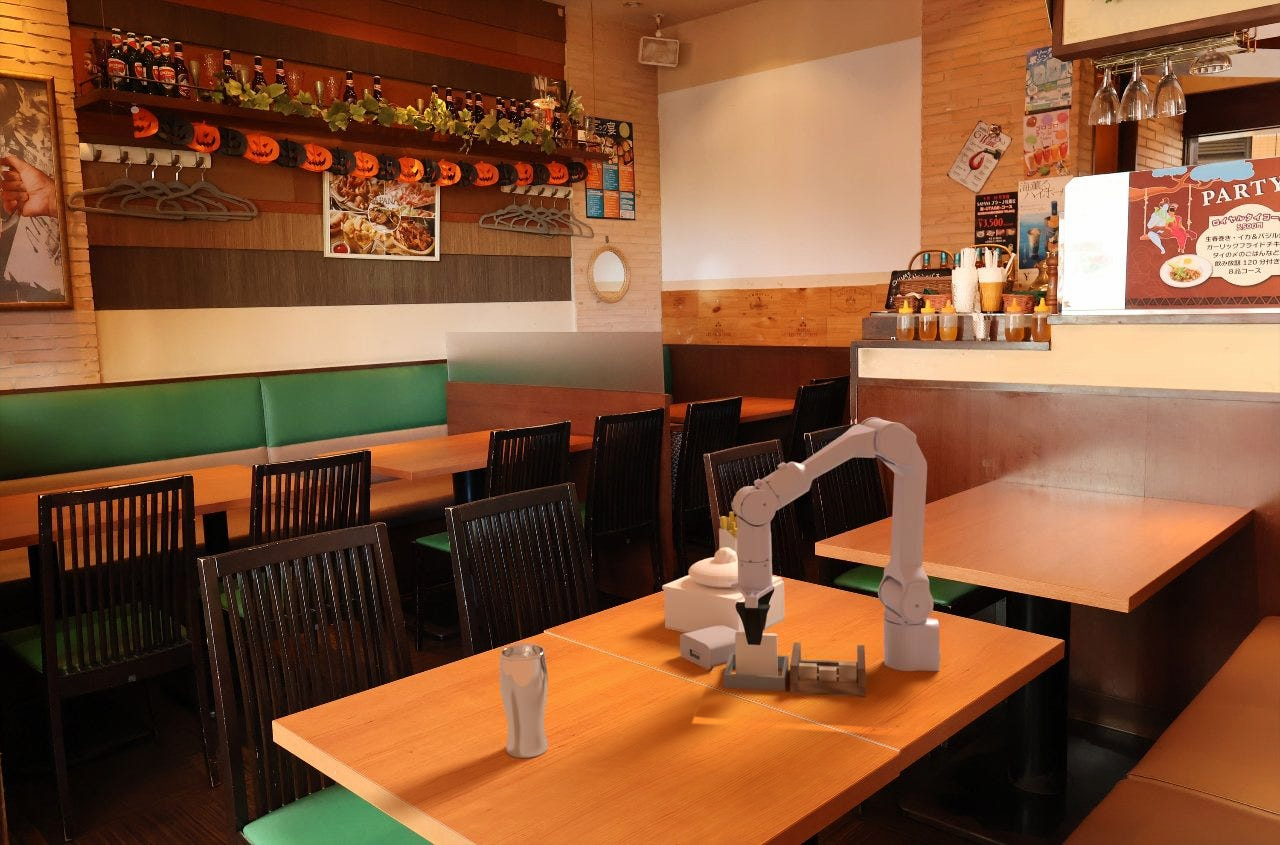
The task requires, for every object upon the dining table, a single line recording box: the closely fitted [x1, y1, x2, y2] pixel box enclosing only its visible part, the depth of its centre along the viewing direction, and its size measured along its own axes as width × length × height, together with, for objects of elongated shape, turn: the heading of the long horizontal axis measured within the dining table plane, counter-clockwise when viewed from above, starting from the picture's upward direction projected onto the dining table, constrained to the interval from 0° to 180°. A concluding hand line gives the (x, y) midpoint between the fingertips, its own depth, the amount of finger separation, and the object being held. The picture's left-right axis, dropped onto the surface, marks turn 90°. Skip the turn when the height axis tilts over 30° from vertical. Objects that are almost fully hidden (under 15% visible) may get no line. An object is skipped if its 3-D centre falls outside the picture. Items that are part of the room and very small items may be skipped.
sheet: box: [735, 632, 779, 676], centre depth 165 cm, size 7×1×8 cm, turn 78°
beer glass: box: [499, 642, 549, 759], centre depth 142 cm, size 7×7×15 cm
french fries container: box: [718, 511, 738, 555], centre depth 219 cm, size 5×11×18 cm, turn 135°
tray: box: [722, 653, 790, 692], centre depth 165 cm, size 10×10×3 cm
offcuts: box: [799, 661, 857, 682], centre depth 159 cm, size 9×2×4 cm, turn 78°
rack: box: [789, 642, 867, 698], centre depth 163 cm, size 12×12×5 cm
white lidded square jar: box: [661, 547, 786, 634], centre depth 196 cm, size 18×18×16 cm
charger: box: [679, 625, 745, 670], centre depth 179 cm, size 5×9×15 cm
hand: (756, 636), depth 165 cm, fingers open, 7 cm apart
